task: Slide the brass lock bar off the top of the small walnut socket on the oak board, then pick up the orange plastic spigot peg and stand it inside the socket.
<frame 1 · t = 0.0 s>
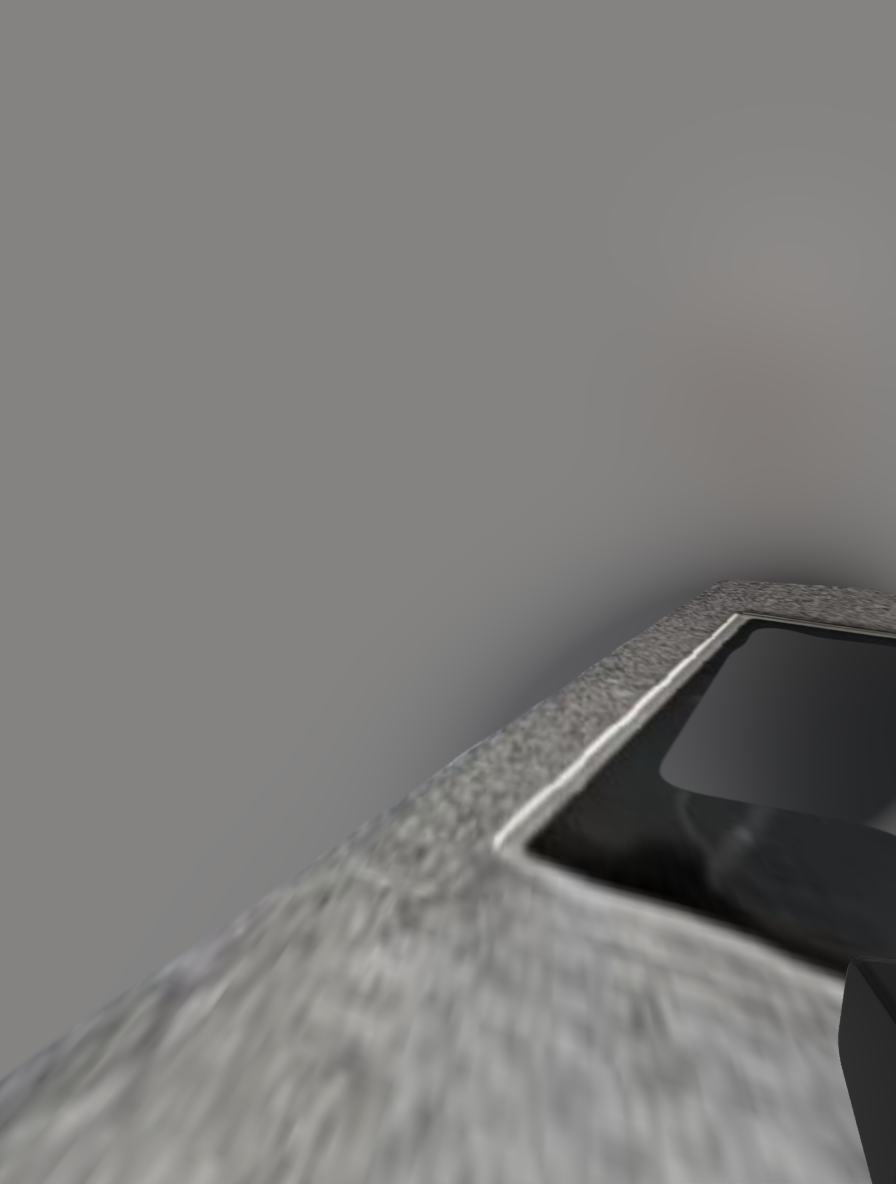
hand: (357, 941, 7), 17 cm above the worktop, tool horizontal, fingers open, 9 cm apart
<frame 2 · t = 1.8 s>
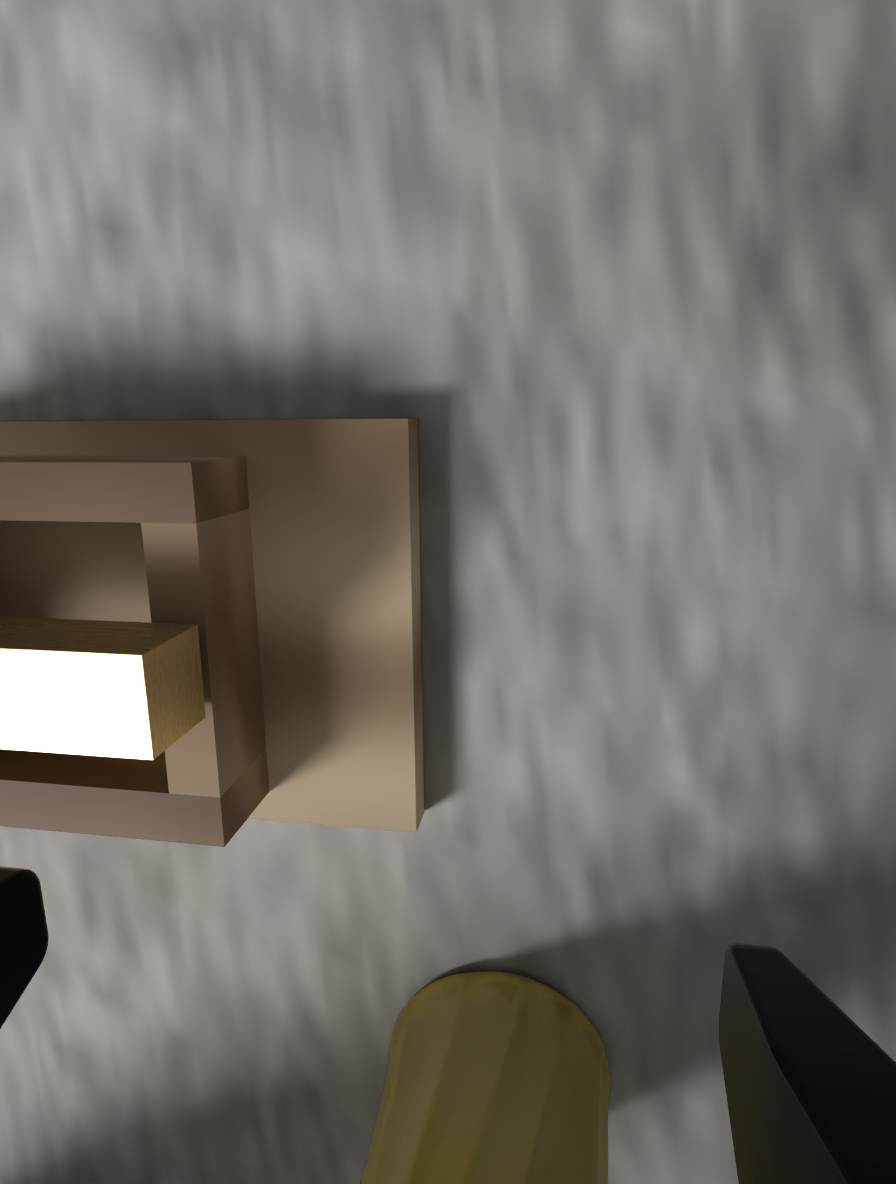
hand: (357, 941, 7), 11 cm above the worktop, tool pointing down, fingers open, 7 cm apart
vase: (499, 1053, 21), on the worktop
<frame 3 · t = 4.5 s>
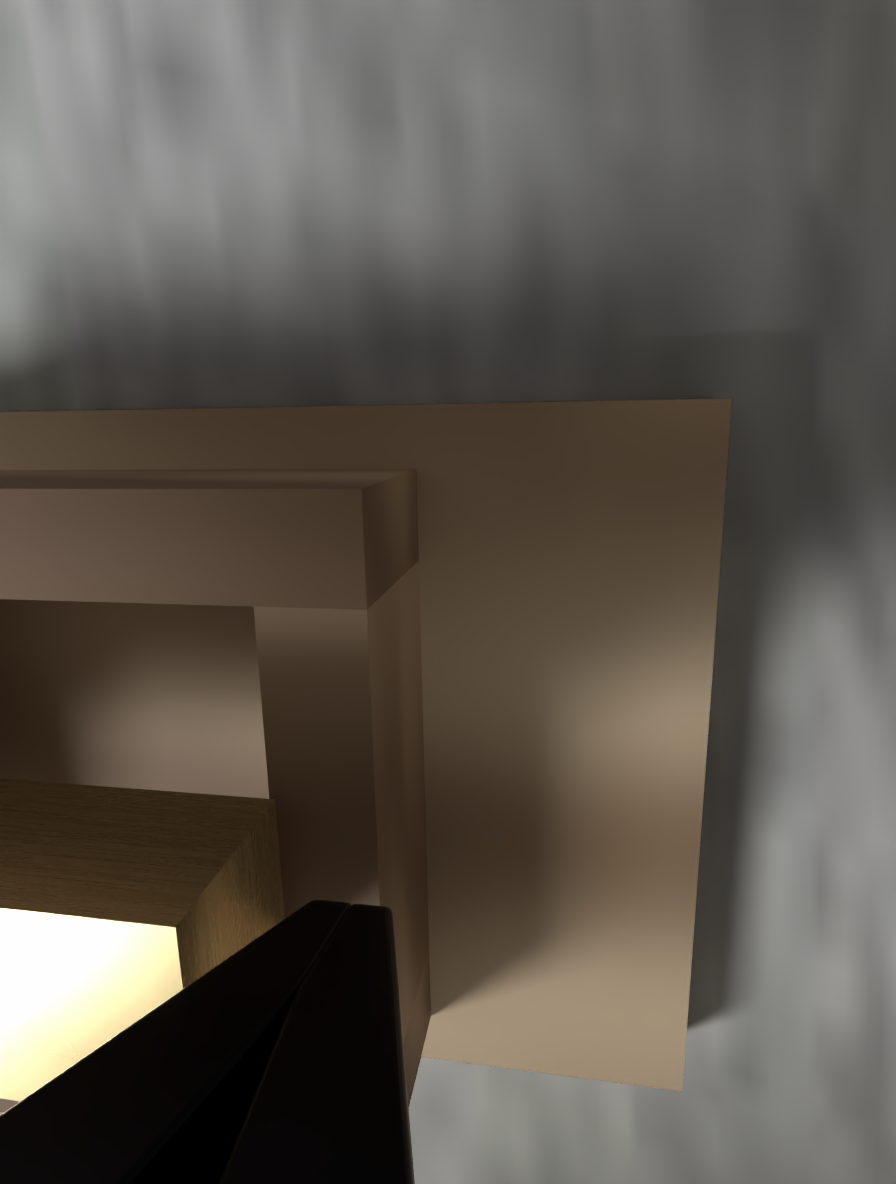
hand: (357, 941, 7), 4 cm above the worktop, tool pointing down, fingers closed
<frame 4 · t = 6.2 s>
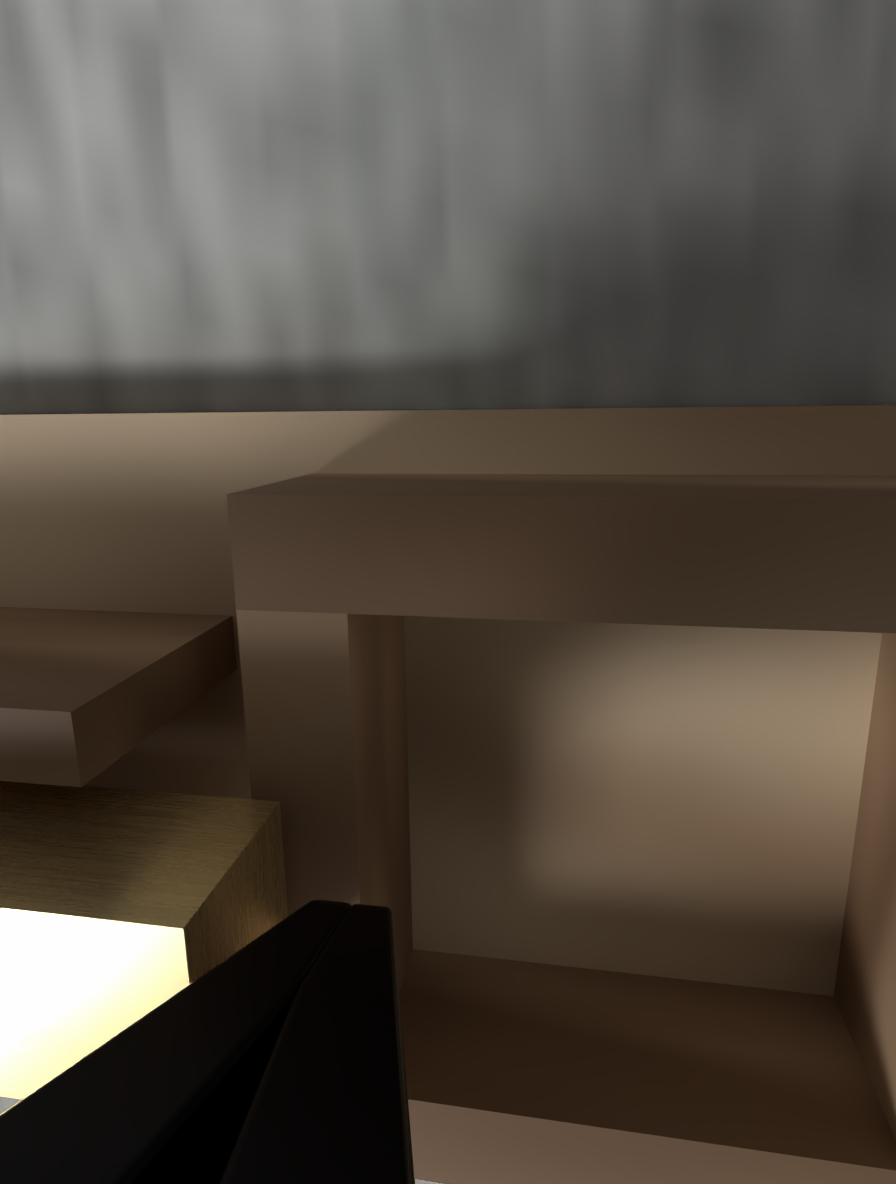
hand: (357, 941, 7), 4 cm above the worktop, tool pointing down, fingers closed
dock board: (360, 735, 12), on the worktop
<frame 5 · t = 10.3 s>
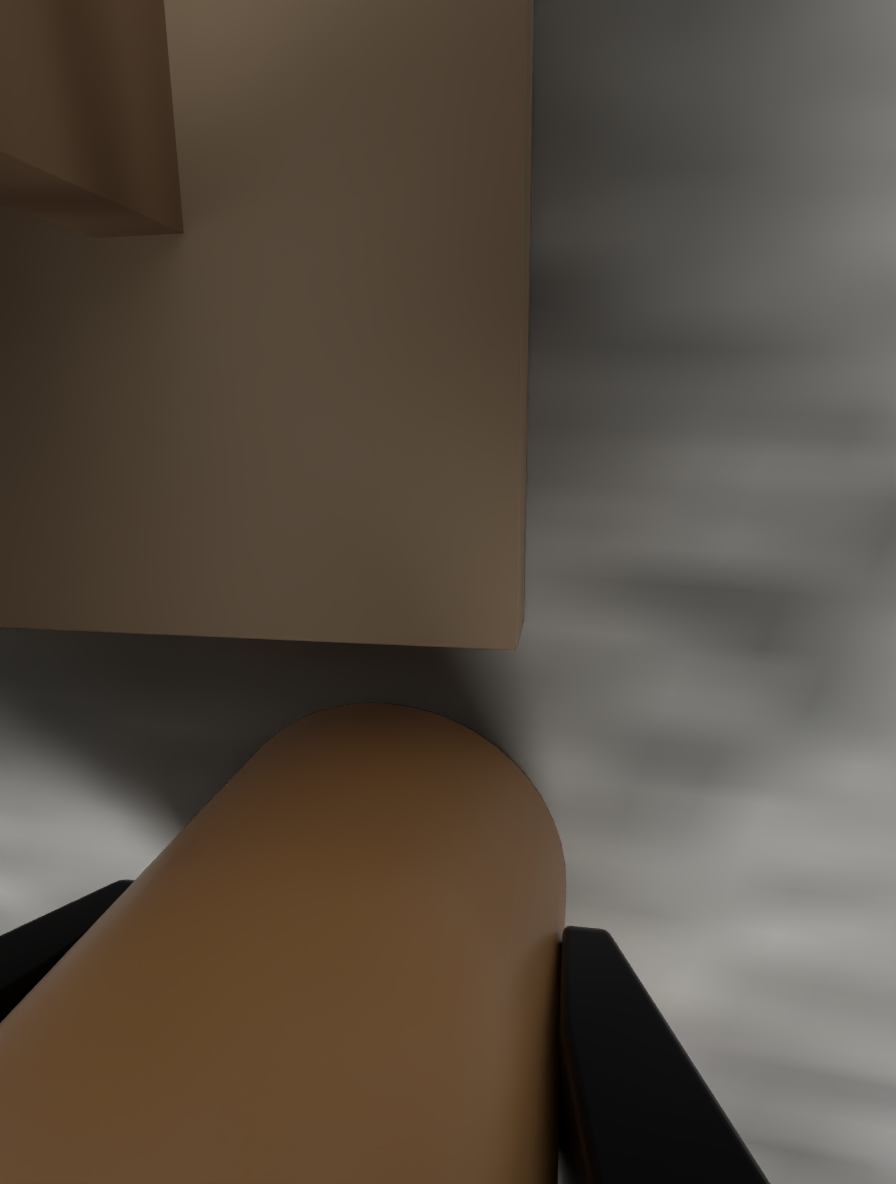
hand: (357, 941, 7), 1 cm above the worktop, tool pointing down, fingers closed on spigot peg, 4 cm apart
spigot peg: (388, 867, 8), on the worktop, touching gripper
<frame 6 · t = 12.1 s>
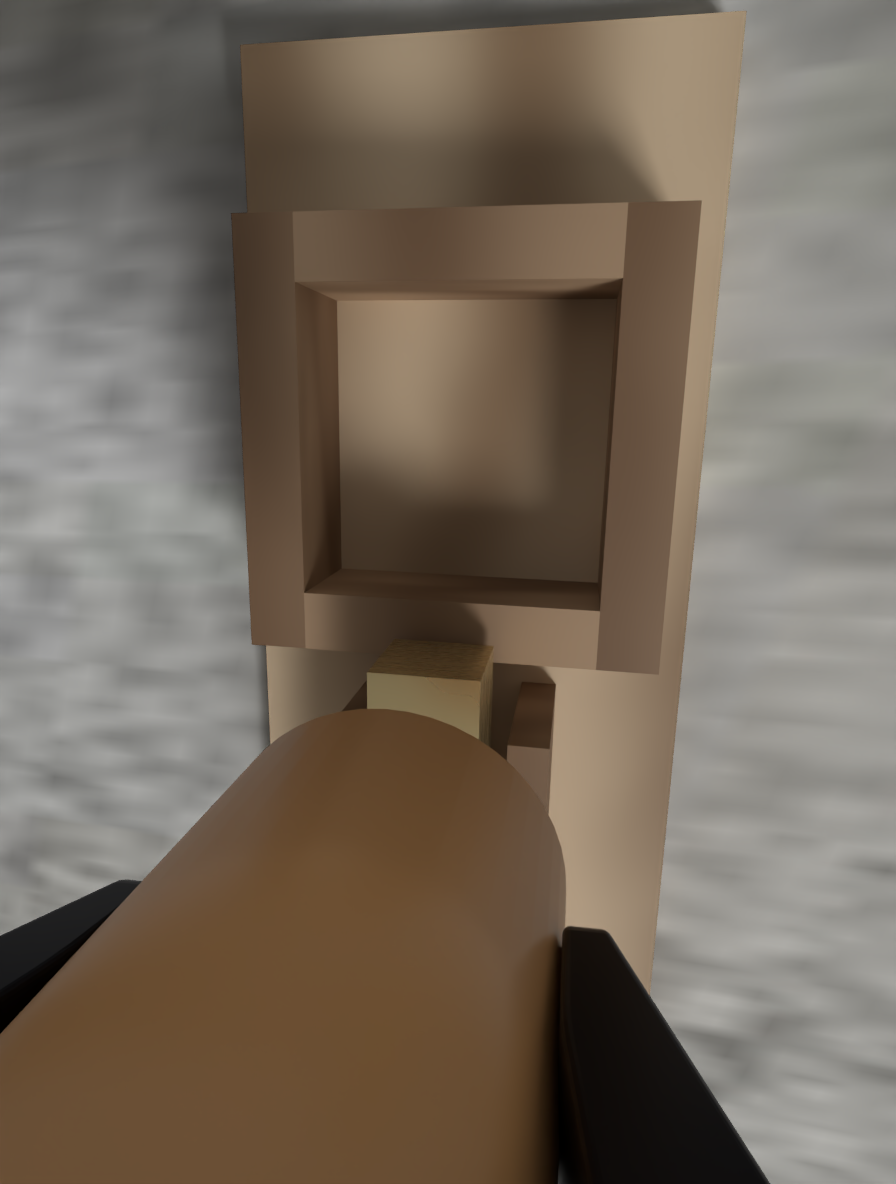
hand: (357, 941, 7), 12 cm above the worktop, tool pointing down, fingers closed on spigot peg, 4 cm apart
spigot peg: (389, 872, 8), point 10 cm above the worktop, touching gripper
lock bar: (431, 871, 15), point 5 cm above the worktop, slide at 8.0 cm
dock board: (471, 606, 18), on the worktop
when the fingers open (4 cm above the worktop, at t = 14.1 s): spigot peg drops 2 cm, resting on dock board.
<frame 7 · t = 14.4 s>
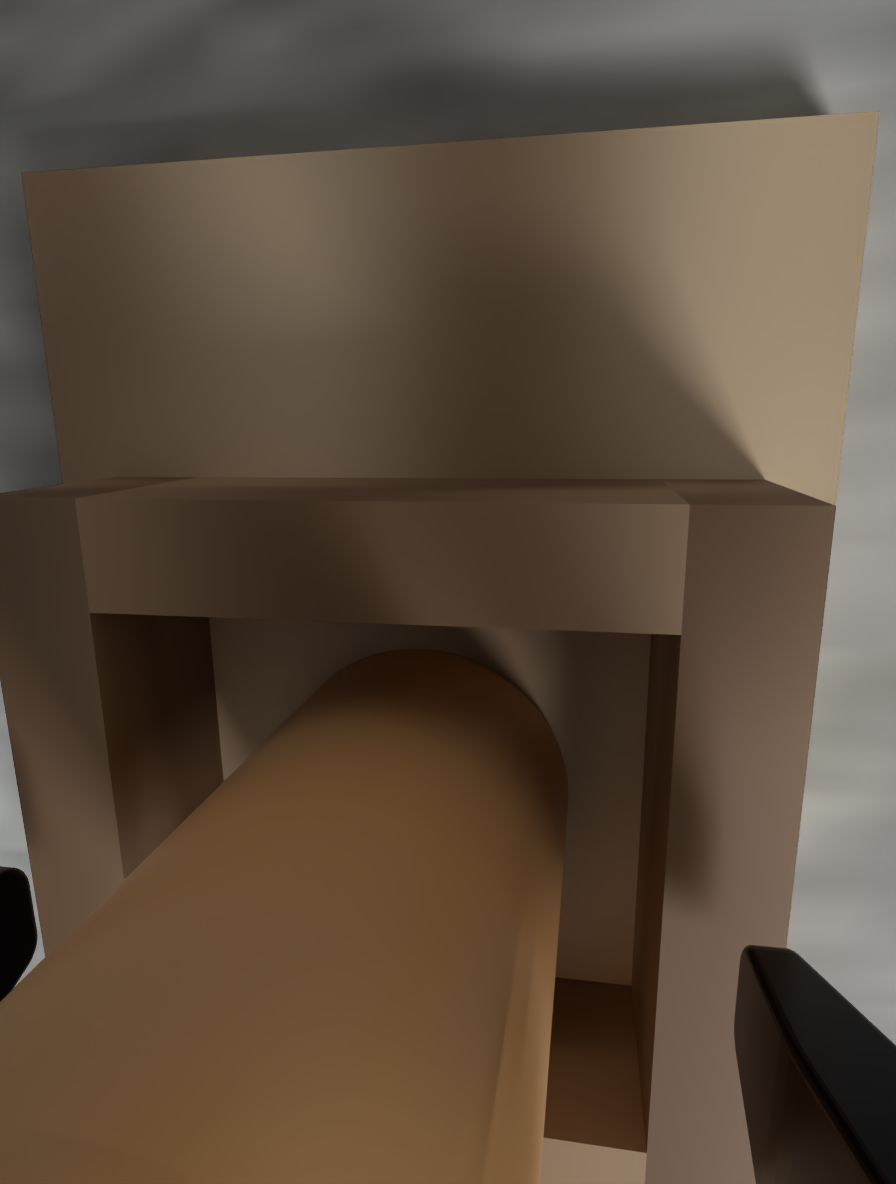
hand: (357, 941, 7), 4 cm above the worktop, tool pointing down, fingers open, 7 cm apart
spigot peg: (423, 785, 10), point 1 cm above the worktop, touching dock board
dock board: (438, 970, 12), on the worktop
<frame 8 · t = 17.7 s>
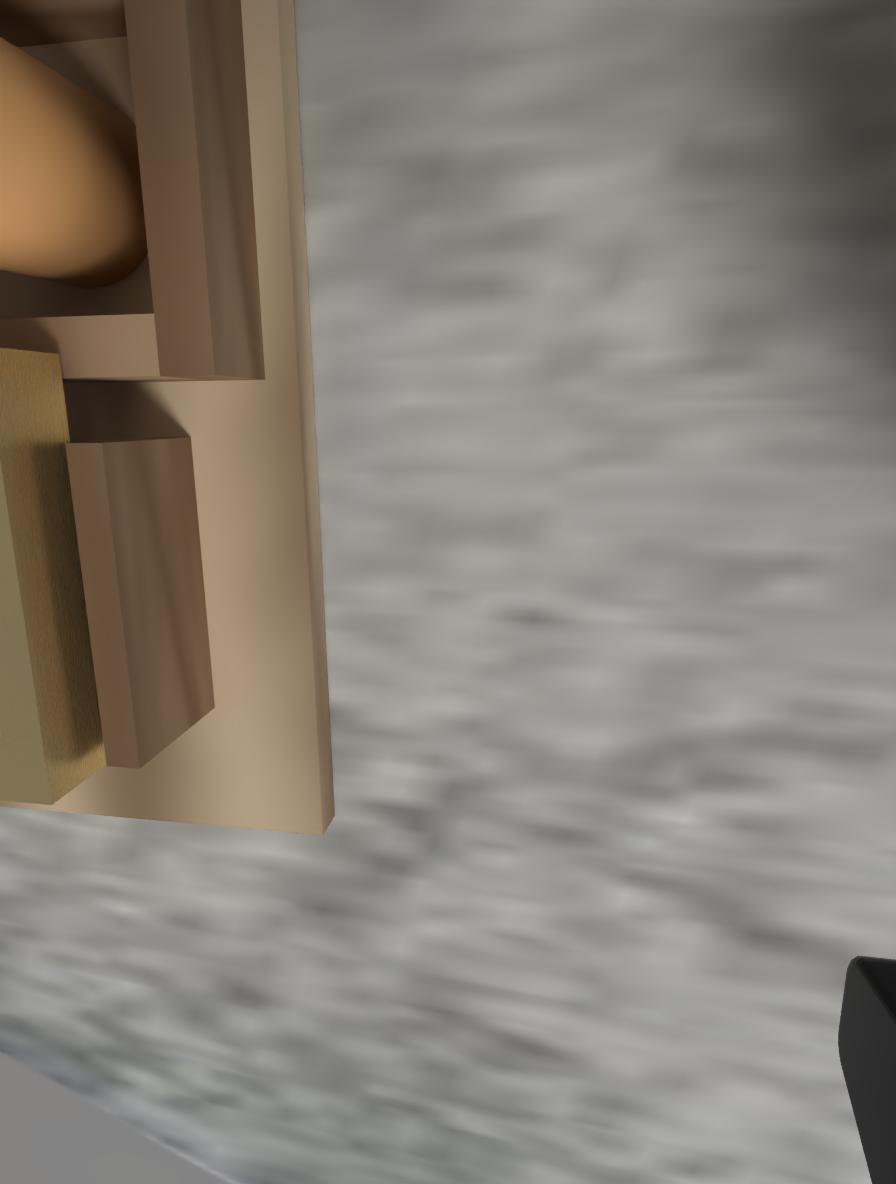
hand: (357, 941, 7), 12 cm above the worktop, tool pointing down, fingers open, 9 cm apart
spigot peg: (81, 195, 17), point 1 cm above the worktop, touching dock board
lock bar: (11, 579, 15), point 5 cm above the worktop, slide at 8.0 cm
dock board: (125, 376, 19), on the worktop
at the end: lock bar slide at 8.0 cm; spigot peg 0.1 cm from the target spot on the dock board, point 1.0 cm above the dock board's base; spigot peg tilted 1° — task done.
